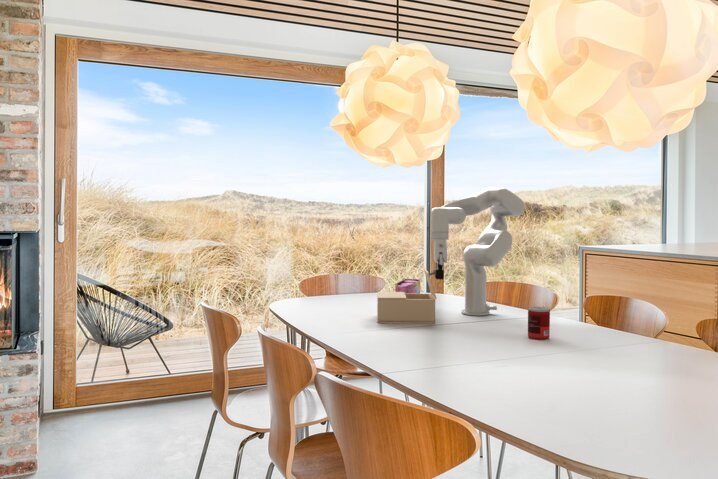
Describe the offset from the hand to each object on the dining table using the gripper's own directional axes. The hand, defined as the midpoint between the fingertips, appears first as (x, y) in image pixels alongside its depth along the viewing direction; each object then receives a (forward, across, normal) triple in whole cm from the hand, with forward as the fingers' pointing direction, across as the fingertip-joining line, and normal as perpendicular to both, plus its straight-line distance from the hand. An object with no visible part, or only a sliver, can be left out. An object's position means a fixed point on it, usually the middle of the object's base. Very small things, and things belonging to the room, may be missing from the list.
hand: (439, 278), depth 245 cm
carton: (+18, 0, +14) cm, 23 cm away
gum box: (+18, +26, +12) cm, 34 cm away
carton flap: (+2, 0, +4) cm, 5 cm away
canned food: (+18, -36, -33) cm, 52 cm away
